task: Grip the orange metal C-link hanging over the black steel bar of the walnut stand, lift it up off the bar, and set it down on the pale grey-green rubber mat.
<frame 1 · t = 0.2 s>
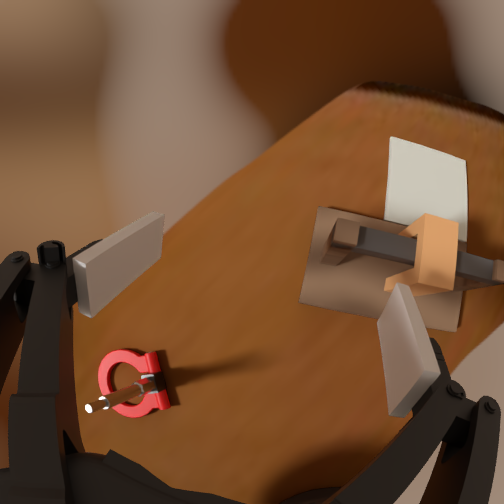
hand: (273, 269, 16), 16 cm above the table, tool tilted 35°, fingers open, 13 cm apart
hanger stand: (389, 272, 30), on the table
c-link: (402, 267, 26), point 4 cm above the table, touching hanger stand
rubber mat: (428, 188, 31), on the table
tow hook: (133, 382, 31), on the table
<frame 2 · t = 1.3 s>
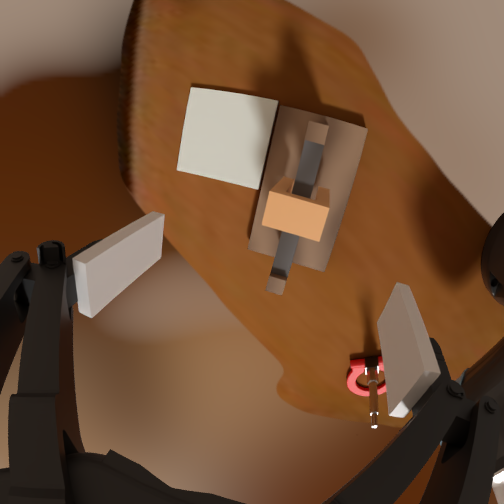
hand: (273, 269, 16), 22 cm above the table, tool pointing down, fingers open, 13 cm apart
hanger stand: (306, 189, 35), on the table
c-link: (303, 196, 32), point 4 cm above the table, touching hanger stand
rubber mat: (225, 135, 35), on the table
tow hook: (371, 374, 44), on the table
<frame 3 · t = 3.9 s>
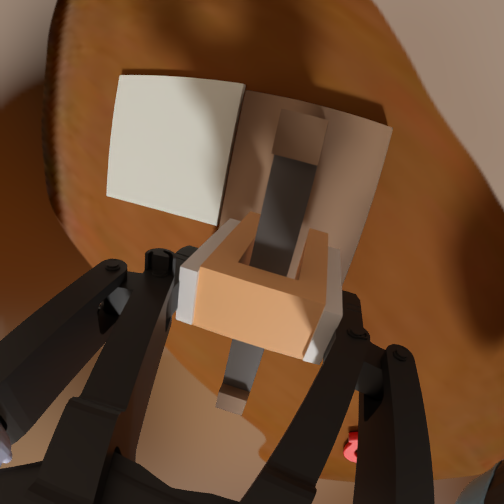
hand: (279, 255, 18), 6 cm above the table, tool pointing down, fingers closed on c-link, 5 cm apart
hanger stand: (290, 224, 23), on the table
c-link: (283, 243, 19), point 4 cm above the table, touching gripper, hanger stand
rubber mat: (167, 143, 22), on the table
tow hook: (374, 443, 31), on the table
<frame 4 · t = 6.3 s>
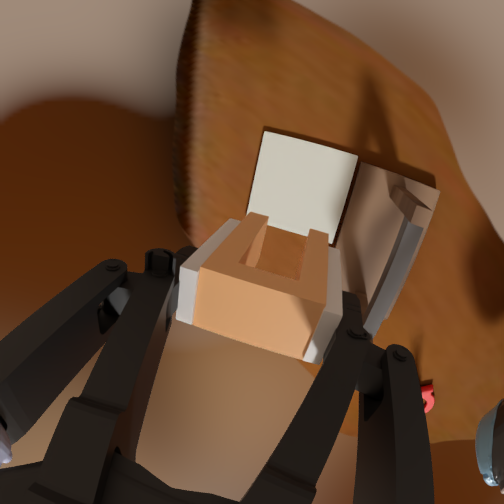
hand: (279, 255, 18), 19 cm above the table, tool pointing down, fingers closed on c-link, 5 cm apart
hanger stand: (377, 244, 35), on the table
c-link: (283, 244, 19), point 18 cm above the table, touching gripper
rubber mat: (300, 187, 35), on the table
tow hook: (412, 400, 43), on the table
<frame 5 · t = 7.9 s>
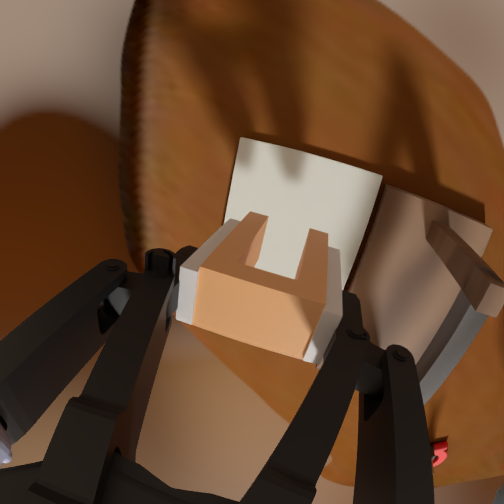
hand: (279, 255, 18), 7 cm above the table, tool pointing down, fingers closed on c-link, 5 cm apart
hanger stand: (400, 299, 24), on the table
c-link: (283, 243, 19), point 5 cm above the table, touching gripper
rubber mat: (294, 220, 24), on the table
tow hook: (422, 455, 33), on the table
when the fingers open (4 cm above the table, at t = 9.1 s): c-link drops 2 cm, resting on rubber mat.
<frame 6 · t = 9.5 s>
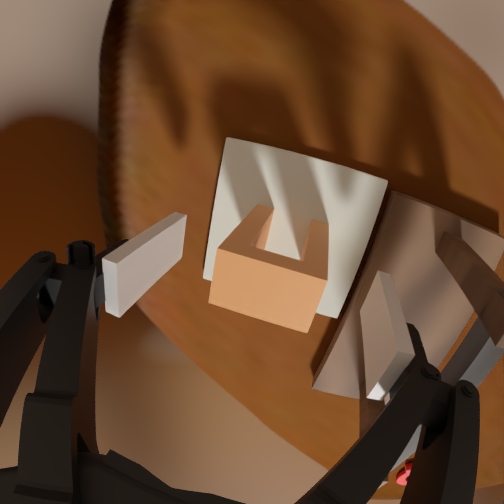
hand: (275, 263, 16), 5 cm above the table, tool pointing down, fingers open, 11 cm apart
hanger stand: (405, 316, 22), on the table
c-link: (287, 234, 21), point 1 cm above the table, touching rubber mat
rubber mat: (288, 231, 21), on the table
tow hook: (422, 468, 30), on the table
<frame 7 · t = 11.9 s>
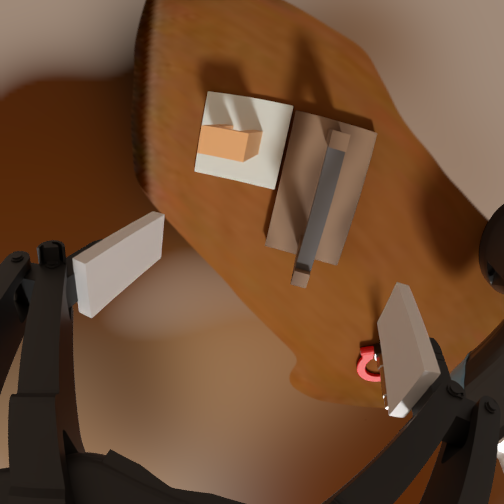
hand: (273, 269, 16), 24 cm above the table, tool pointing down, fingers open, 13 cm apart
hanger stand: (319, 188, 37), on the table
c-link: (241, 138, 36), point 1 cm above the table, touching rubber mat
rubber mat: (242, 138, 37), on the table
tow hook: (379, 360, 47), on the table
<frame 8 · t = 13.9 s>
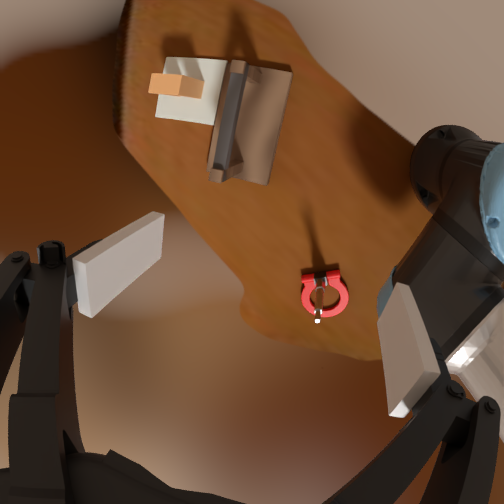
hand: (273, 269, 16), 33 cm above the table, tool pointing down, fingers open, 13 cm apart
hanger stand: (249, 122, 44), on the table
c-link: (188, 88, 43), point 1 cm above the table, touching rubber mat
rubber mat: (190, 89, 44), on the table
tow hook: (324, 292, 52), on the table
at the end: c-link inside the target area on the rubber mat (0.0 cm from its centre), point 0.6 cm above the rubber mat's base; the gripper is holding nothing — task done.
